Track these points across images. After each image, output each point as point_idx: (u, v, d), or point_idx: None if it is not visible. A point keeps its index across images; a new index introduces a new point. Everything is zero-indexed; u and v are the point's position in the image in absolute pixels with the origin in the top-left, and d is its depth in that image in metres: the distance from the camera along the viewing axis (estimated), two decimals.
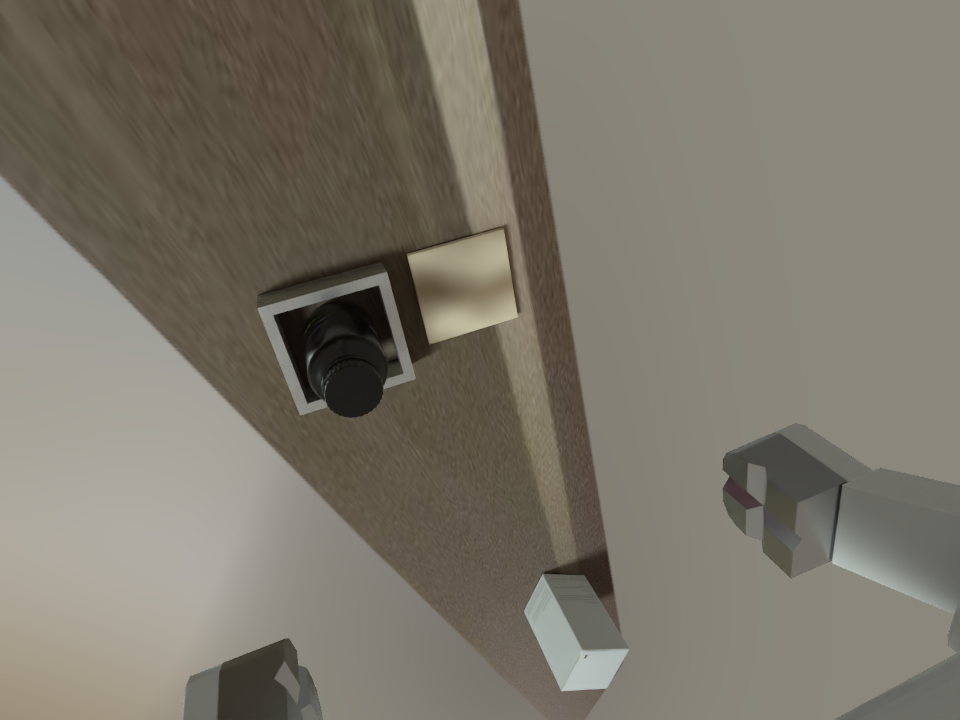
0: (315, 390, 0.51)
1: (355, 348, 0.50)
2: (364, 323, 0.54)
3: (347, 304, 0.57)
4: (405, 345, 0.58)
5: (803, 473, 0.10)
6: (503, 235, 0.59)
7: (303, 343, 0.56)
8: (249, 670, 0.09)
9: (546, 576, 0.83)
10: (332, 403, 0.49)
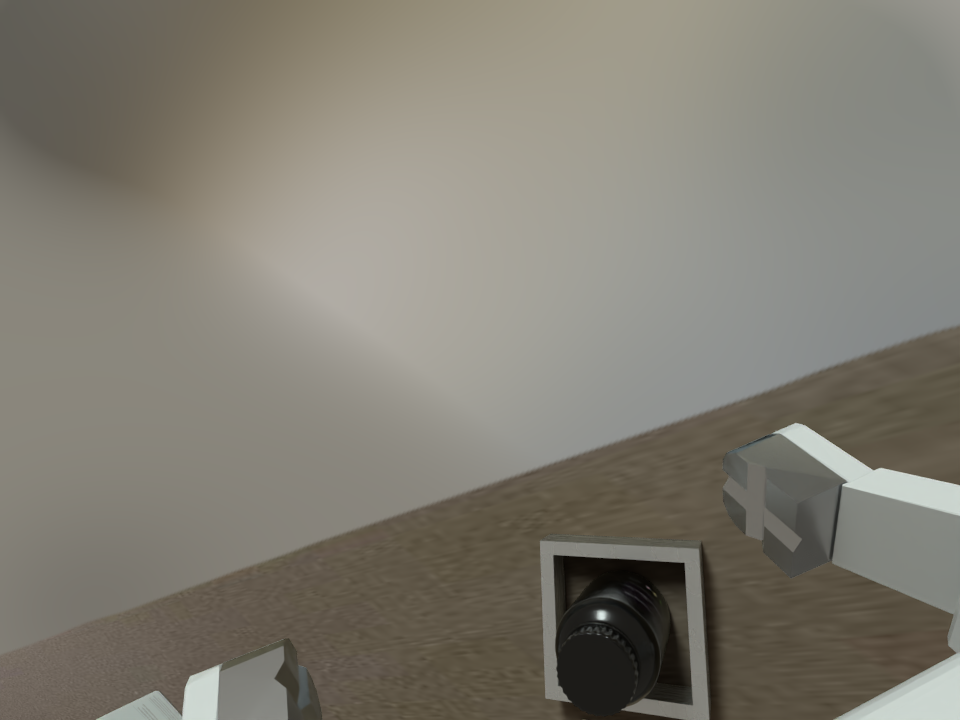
0: (595, 604, 0.39)
1: (643, 681, 0.37)
2: None
3: None
4: None
5: (803, 474, 0.10)
6: None
7: (631, 576, 0.45)
8: (249, 670, 0.09)
9: None
10: (587, 640, 0.36)
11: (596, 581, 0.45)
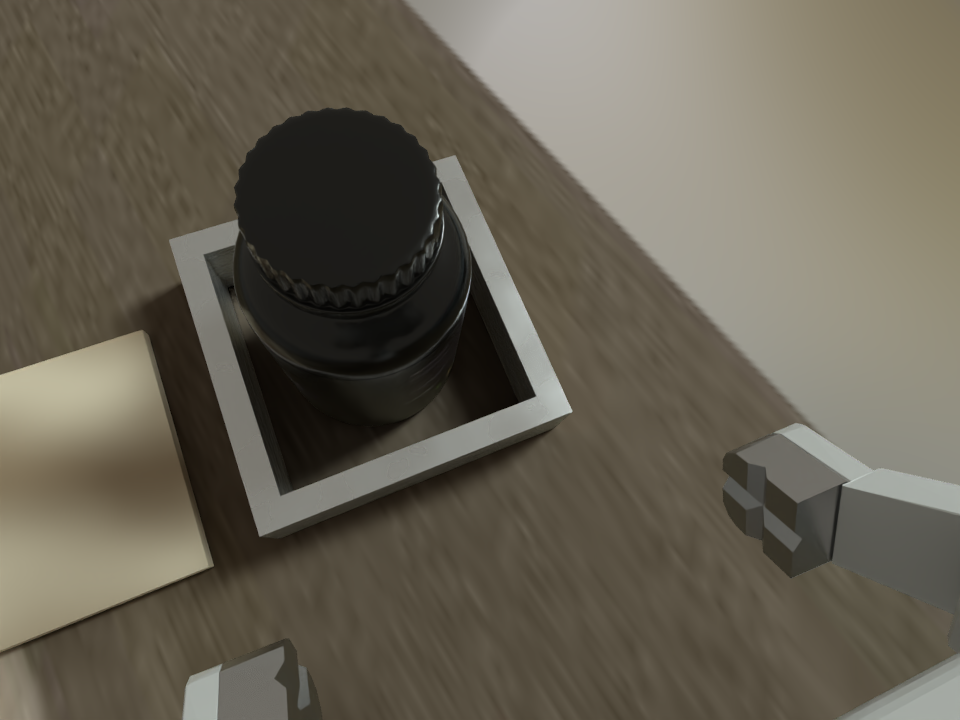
0: (448, 207, 0.18)
1: (339, 338, 0.16)
2: (314, 393, 0.20)
3: (358, 424, 0.24)
4: (200, 330, 0.22)
5: (803, 474, 0.10)
6: None
7: None
8: (249, 670, 0.09)
9: None
10: (410, 157, 0.14)
11: None
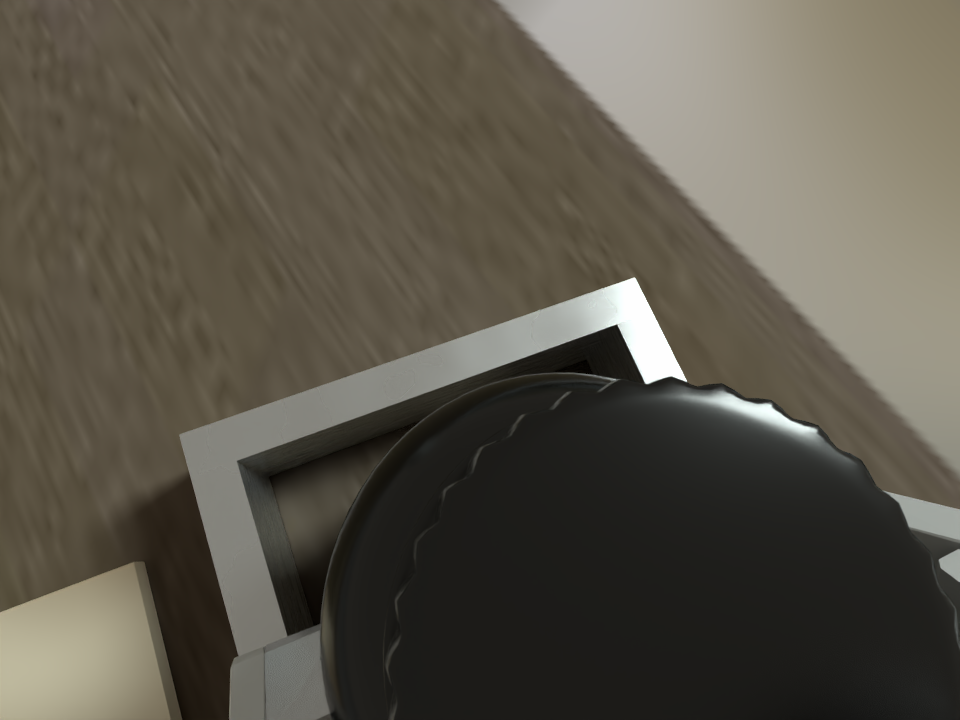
0: None
1: None
2: None
3: None
4: (231, 607, 0.13)
5: None
6: None
7: None
8: (293, 651, 0.09)
9: None
10: (865, 531, 0.05)
11: None
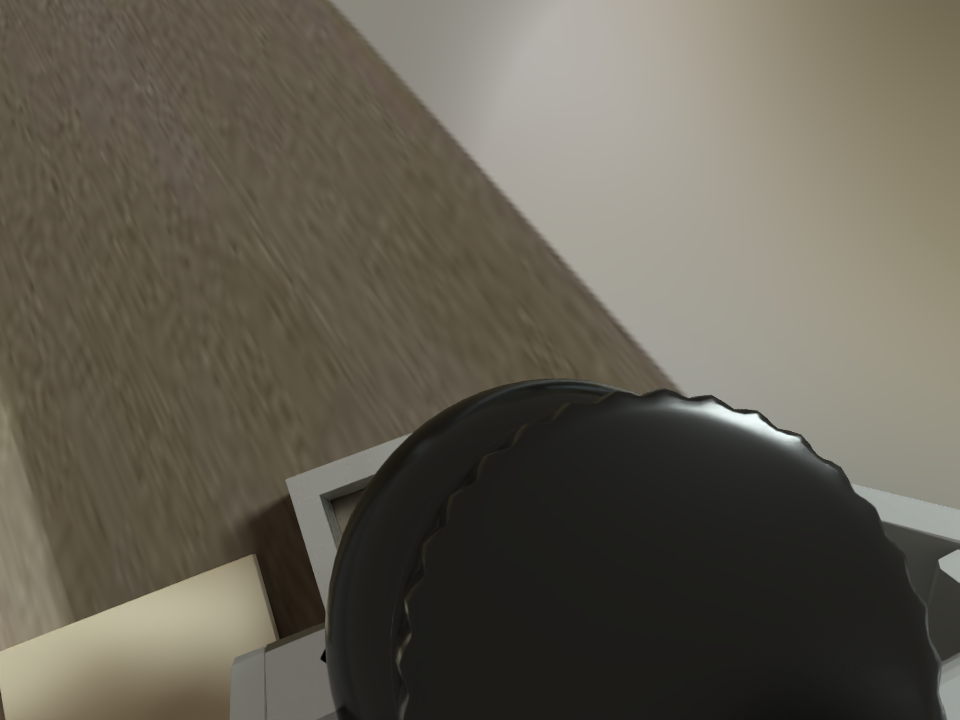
0: None
1: None
2: None
3: None
4: (319, 579, 0.22)
5: None
6: None
7: None
8: (293, 651, 0.09)
9: None
10: (844, 534, 0.06)
11: None
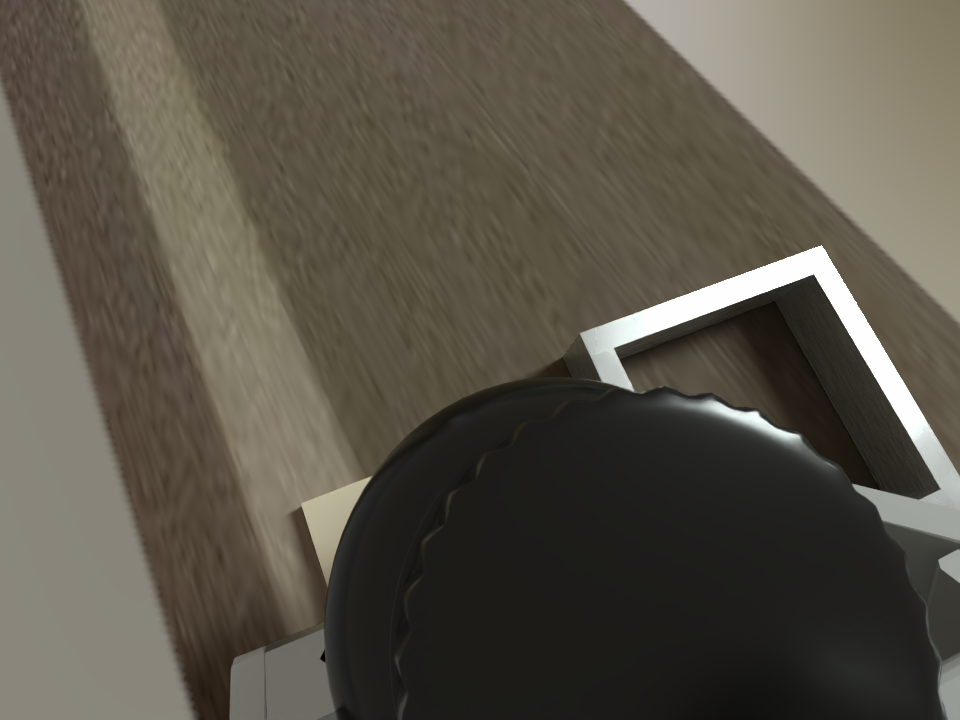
0: None
1: None
2: None
3: None
4: None
5: None
6: None
7: None
8: (293, 651, 0.09)
9: None
10: (844, 532, 0.06)
11: None
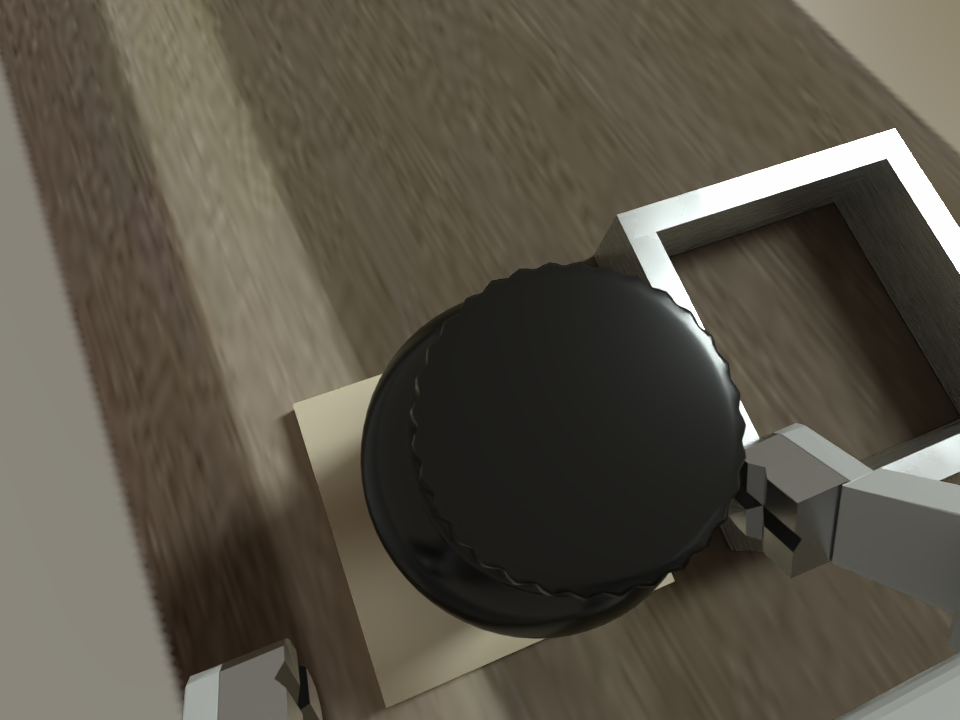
0: None
1: (538, 601, 0.10)
2: None
3: None
4: None
5: (803, 473, 0.10)
6: (383, 685, 0.18)
7: None
8: (250, 670, 0.09)
9: None
10: (689, 349, 0.09)
11: None
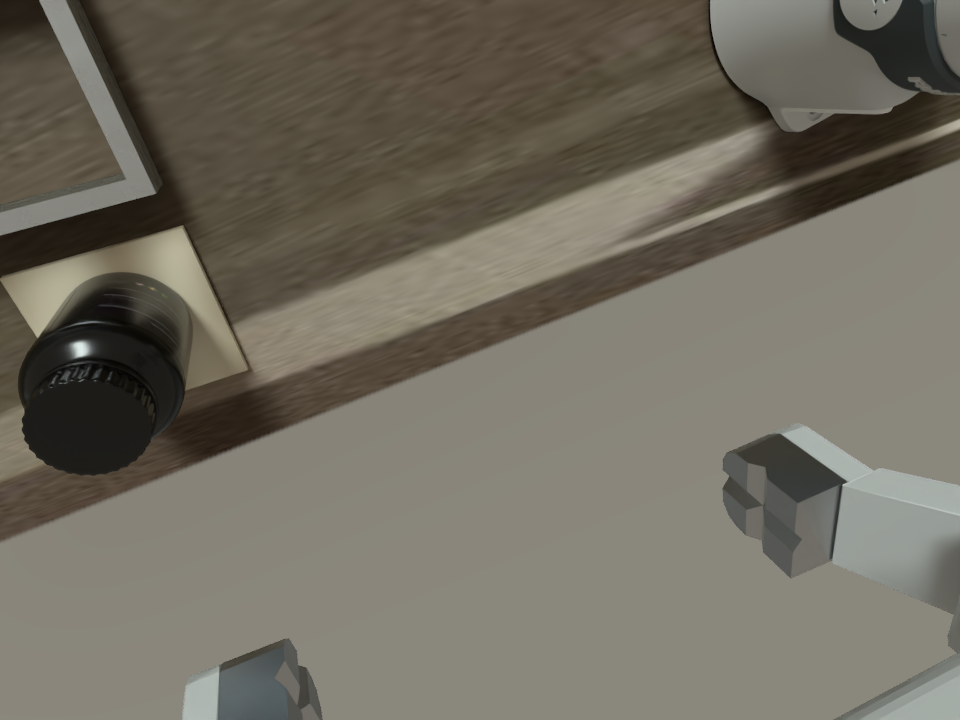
0: (56, 342, 0.27)
1: (165, 400, 0.29)
2: None
3: None
4: None
5: (803, 474, 0.10)
6: (237, 371, 0.39)
7: (112, 279, 0.33)
8: (249, 670, 0.09)
9: None
10: (55, 396, 0.25)
11: (62, 304, 0.31)
